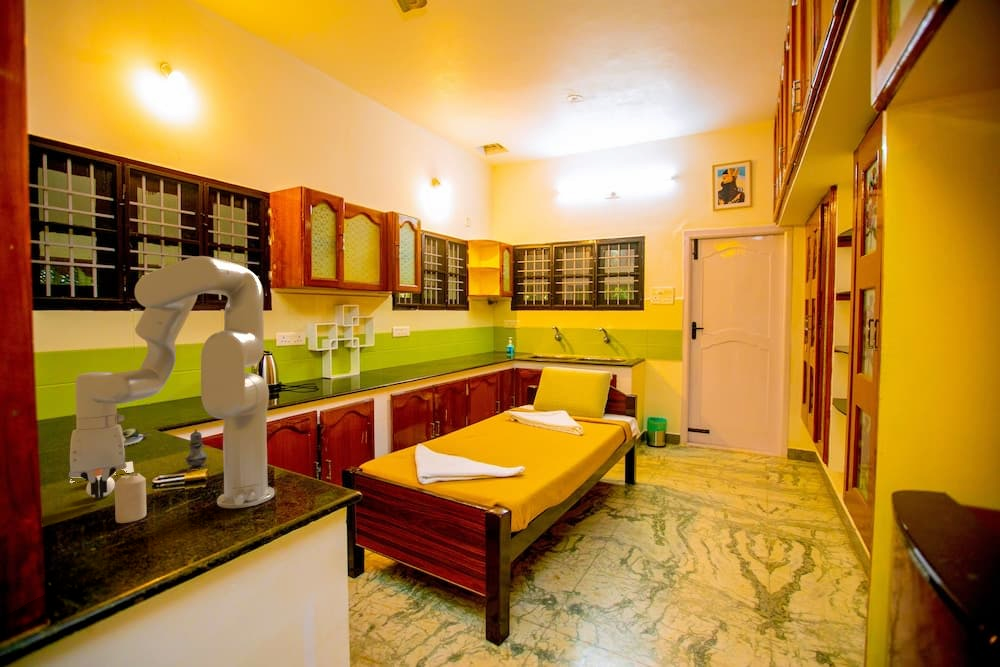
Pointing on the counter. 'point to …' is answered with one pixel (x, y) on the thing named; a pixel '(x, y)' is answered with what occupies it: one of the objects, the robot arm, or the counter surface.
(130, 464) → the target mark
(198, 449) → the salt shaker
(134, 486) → the candle
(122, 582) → the counter surface
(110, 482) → the cue ball
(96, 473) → the object ball
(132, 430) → the salad plate
